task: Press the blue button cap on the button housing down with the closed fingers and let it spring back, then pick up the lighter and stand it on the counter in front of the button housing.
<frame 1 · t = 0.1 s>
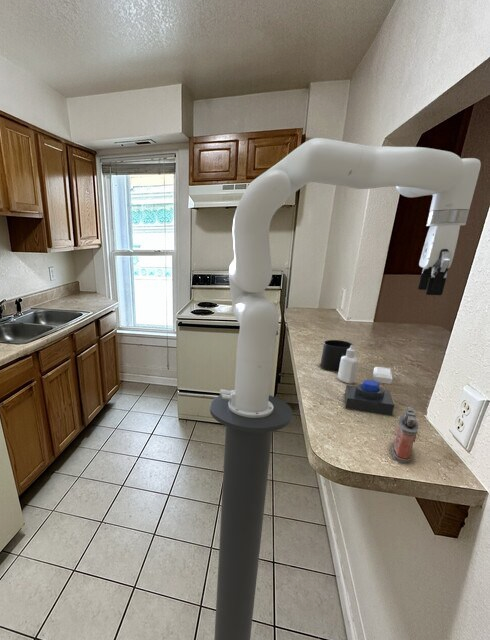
hand: (429, 292, 90), 31 cm above the worktop, tool pointing down, fingers open, 9 cm apart
lighter: (400, 453, 77), on the worktop
button housing: (366, 404, 99), on the worktop
blue button cap: (370, 386, 97), point 6 cm above the worktop, slide at 0.1 cm
eye dropper bottle: (345, 381, 116), on the worktop
mug: (335, 369, 126), on the worktop
soap bar: (381, 378, 117), on the worktop
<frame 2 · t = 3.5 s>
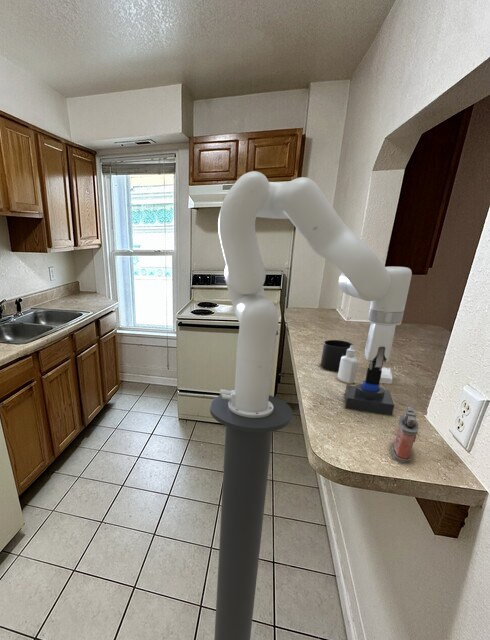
hand: (372, 382, 97), 7 cm above the worktop, tool pointing down, fingers closed
blue button cap: (370, 386, 97), point 6 cm above the worktop, slide at 0.1 cm, touching gripper
everything else where it was.
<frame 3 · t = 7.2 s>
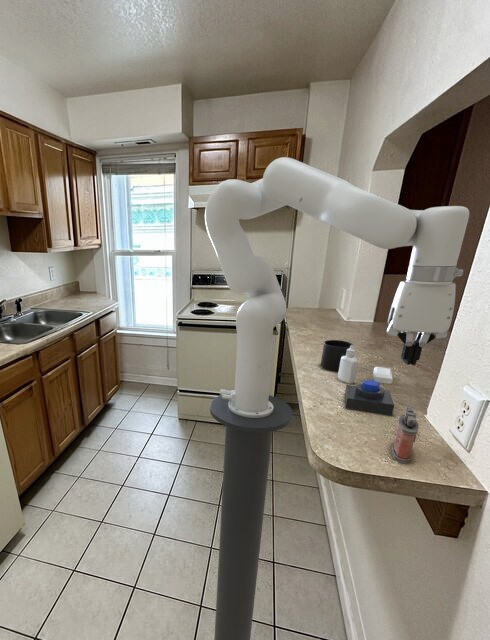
hand: (408, 362, 76), 19 cm above the worktop, tool pointing down, fingers closed
blue button cap: (370, 386, 97), point 6 cm above the worktop, slide at 0.1 cm
everything else where it was.
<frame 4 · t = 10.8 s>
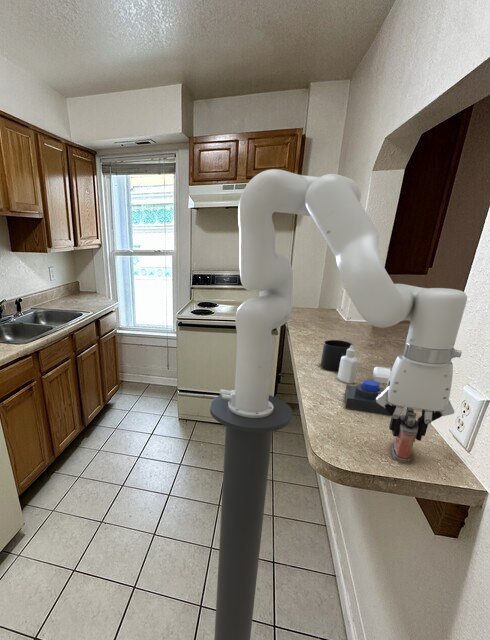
hand: (405, 434, 75), 5 cm above the worktop, tool pointing down, fingers closed on lighter, 3 cm apart
lighter: (400, 453, 77), on the worktop, touching gripper
everything else where it was.
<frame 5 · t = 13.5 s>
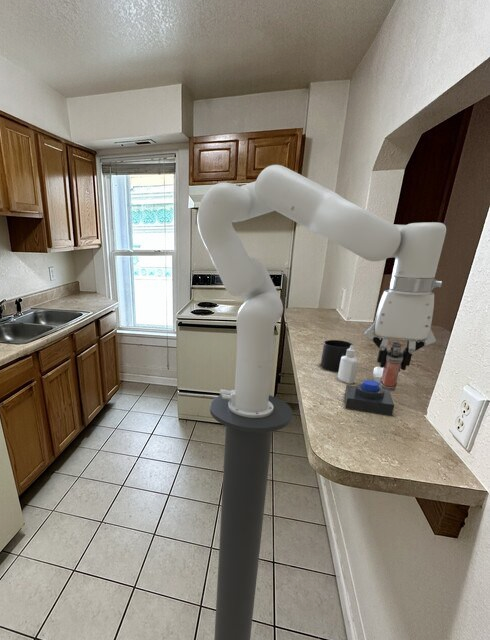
hand: (391, 366, 81), 16 cm above the worktop, tool pointing down, fingers closed on lighter, 3 cm apart
lighter: (387, 385, 83), point 11 cm above the worktop, touching gripper
everything else where it was.
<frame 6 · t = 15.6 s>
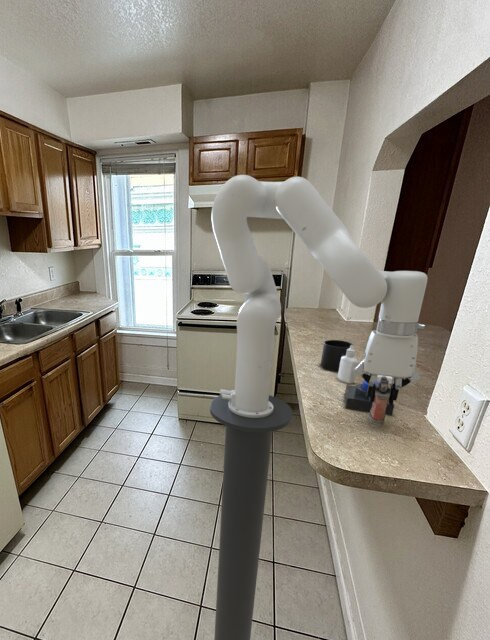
hand: (380, 400, 86), 7 cm above the worktop, tool pointing down, fingers closed on lighter, 3 cm apart
lighter: (376, 417, 88), point 2 cm above the worktop, touching gripper
everything else where it was.
when the fingers open (5 cm above the worktop, at t = 16.5 s): lighter stays where it is, on the worktop.
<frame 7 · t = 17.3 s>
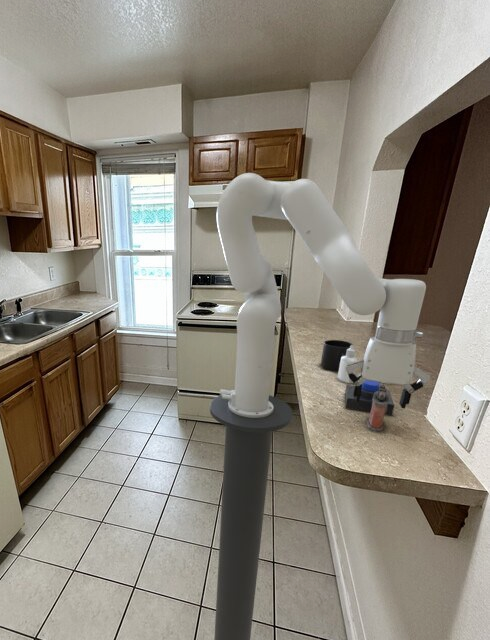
hand: (379, 402, 86), 6 cm above the worktop, tool pointing down, fingers open, 9 cm apart
lighter: (374, 425, 88), on the worktop
everything else where it was.
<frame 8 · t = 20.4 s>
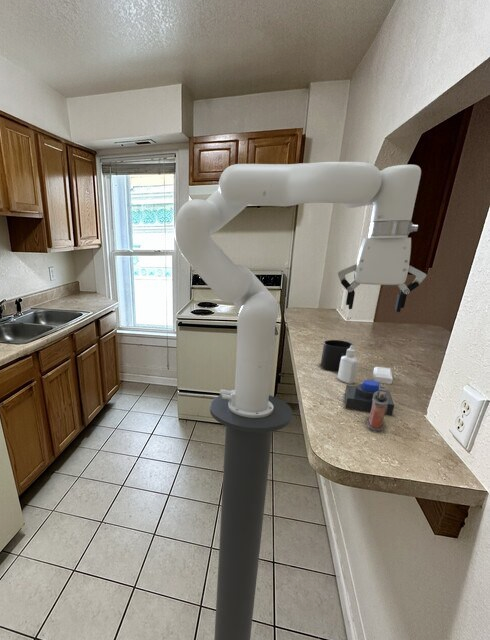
hand: (373, 309, 82), 28 cm above the worktop, tool pointing down, fingers open, 9 cm apart
nothing on the worktop moved.
at the end: blue button cap pushed in 1.1 cm at the most during the clip, back to where it started at the end; blue button cap slide at 0.1 cm; lighter inside the target area on the worktop beside the button housing (0.0 cm from its centre), on the worktop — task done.
